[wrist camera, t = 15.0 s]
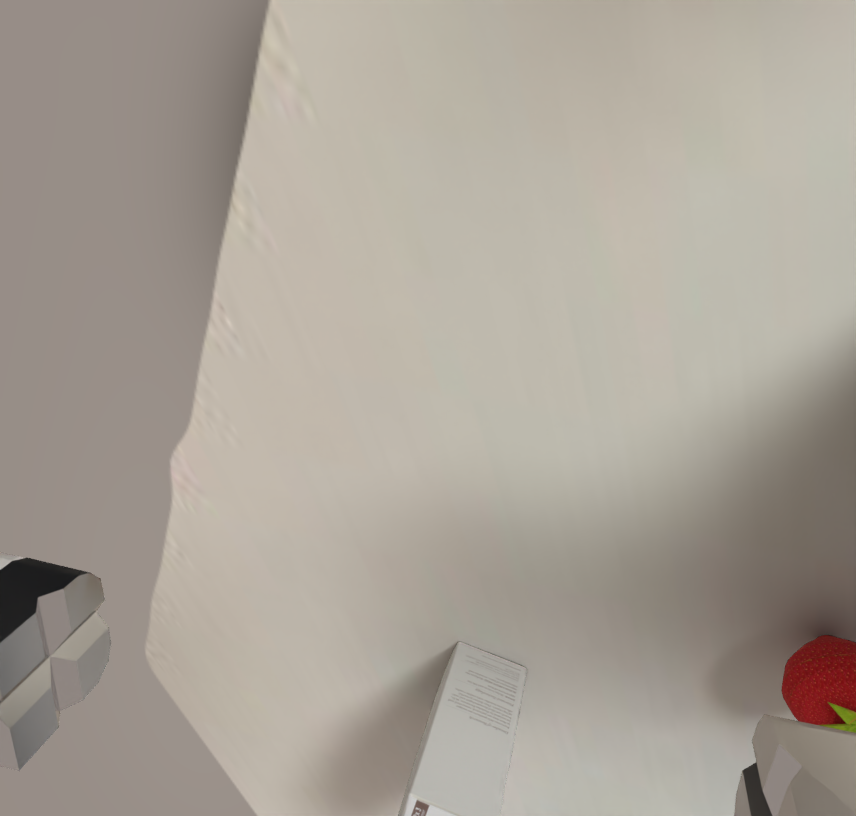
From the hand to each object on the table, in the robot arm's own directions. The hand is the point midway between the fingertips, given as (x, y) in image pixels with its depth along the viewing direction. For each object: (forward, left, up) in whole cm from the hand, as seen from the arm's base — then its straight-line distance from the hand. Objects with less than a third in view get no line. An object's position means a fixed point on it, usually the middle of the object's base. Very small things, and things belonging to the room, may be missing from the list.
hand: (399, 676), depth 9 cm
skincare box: (+29, -21, -37) cm, 52 cm away
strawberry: (+32, +4, -37) cm, 49 cm away
